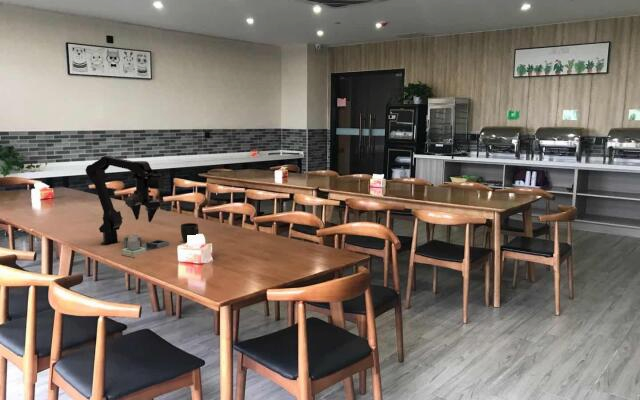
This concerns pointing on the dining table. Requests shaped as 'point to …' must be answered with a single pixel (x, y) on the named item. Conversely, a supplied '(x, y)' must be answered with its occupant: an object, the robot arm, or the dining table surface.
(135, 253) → the grey square frame
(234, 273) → the dining table surface
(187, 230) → the mug
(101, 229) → the robot arm
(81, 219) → the dining table surface
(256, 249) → the dining table surface
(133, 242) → the grey block
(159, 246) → the socket block
